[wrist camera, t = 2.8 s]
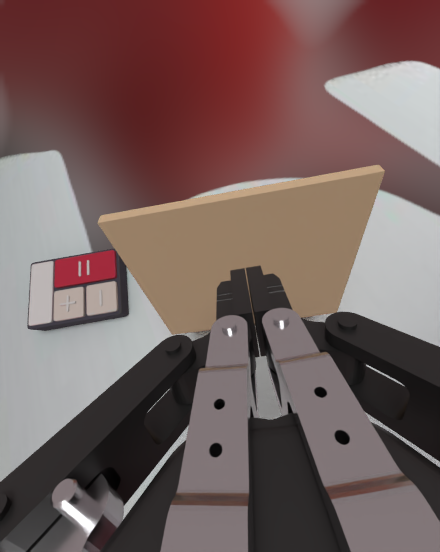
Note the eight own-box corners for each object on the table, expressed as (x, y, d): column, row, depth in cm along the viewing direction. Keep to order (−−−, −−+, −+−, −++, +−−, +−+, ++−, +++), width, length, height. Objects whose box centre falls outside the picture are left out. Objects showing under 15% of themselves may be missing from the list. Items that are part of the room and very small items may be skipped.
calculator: (119, 313, 38) (22, 329, 38) (131, 316, 42) (43, 331, 42) (116, 245, 41) (26, 261, 41) (128, 254, 45) (46, 269, 45)
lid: (334, 306, 27) (336, 312, 27) (172, 328, 29) (172, 334, 28) (378, 164, 15) (384, 171, 15) (100, 215, 17) (97, 223, 17)
